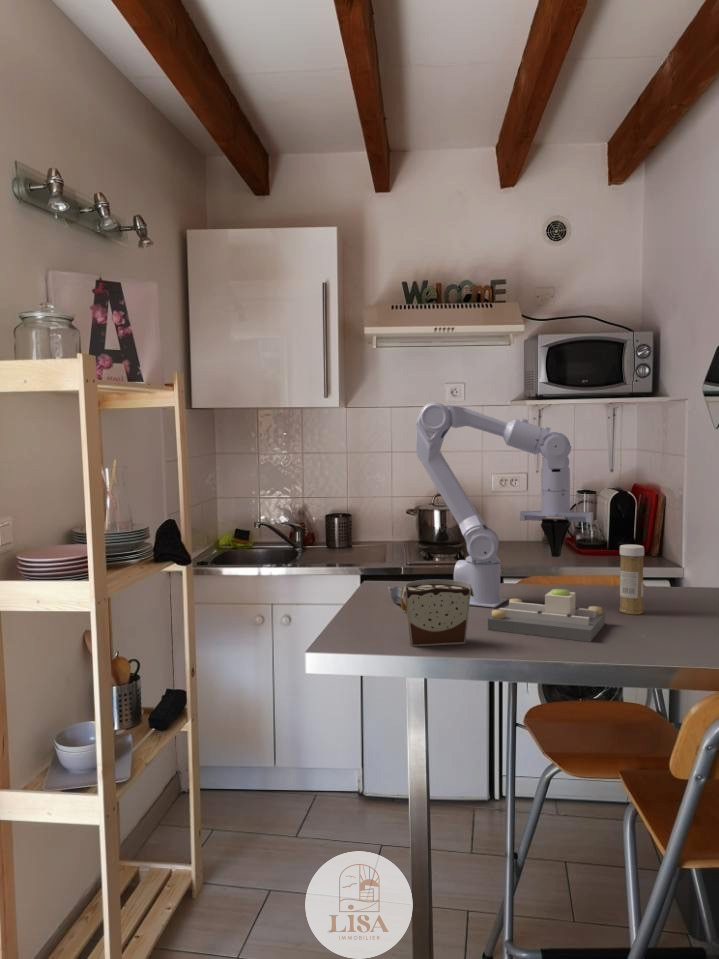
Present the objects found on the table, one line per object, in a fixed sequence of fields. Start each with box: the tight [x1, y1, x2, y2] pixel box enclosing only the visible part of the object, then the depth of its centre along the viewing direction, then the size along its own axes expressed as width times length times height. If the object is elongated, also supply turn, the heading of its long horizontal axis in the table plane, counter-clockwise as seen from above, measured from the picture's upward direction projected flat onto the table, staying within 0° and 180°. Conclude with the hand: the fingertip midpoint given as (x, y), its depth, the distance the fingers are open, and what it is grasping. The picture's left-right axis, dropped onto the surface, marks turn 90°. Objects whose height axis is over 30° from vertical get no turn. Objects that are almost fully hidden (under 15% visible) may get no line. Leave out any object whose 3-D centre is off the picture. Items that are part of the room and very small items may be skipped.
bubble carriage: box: [544, 588, 577, 616], centre depth 130 cm, size 4×5×5 cm
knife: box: [387, 585, 407, 612], centre depth 146 cm, size 25×1×5 cm, turn 10°
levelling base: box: [487, 598, 606, 643], centre depth 131 cm, size 18×14×3 cm
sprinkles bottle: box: [619, 543, 645, 616], centre depth 142 cm, size 5×5×14 cm
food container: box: [402, 579, 474, 647], centre depth 122 cm, size 12×6×10 cm, turn 100°
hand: (556, 556), depth 148 cm, fingers closed
